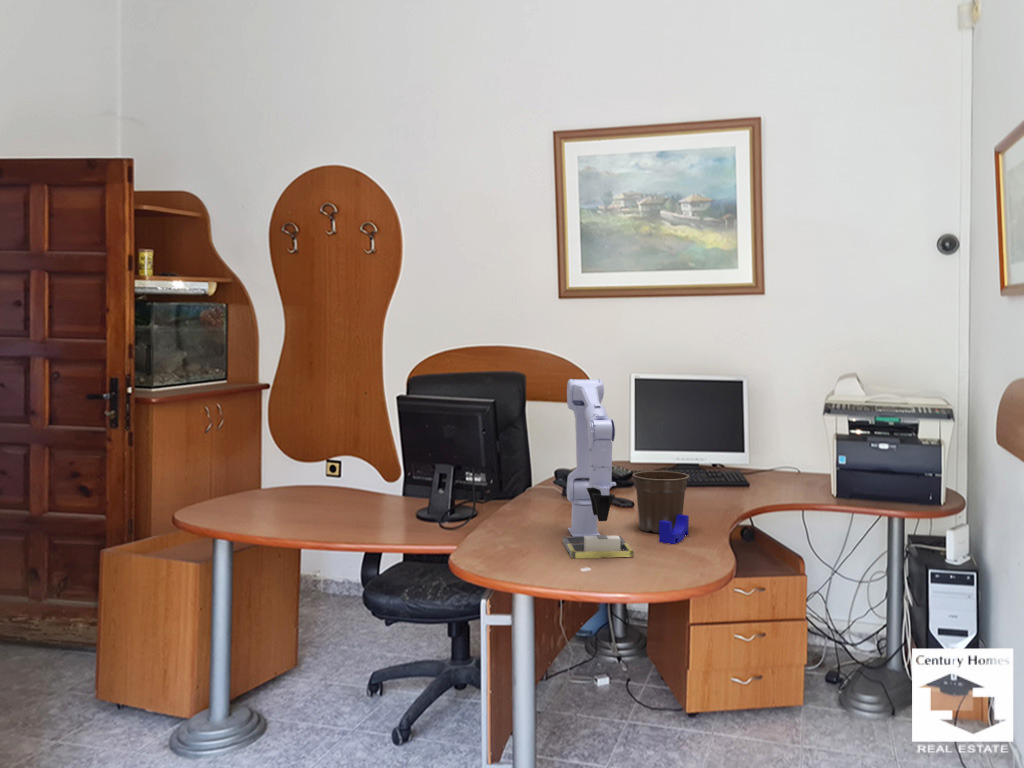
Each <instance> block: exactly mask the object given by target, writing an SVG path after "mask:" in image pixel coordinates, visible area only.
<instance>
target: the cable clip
mask: <svg viewBox="0 0 1024 768" xmlns="http://www.w3.org/2000/svg"><path fill="white" fill-rule="evenodd" d="M689 521H690V520H689V515H688V514H687V515H686V514H683V515H681V514H678V515H677V518H676V524H675V527H674V529H672V522H669V521H660V522H659V533H658V536H659V538H658V543H660V542H663V543H662V544H666V543H670V544H669V545H672V544H675V545H677V544H679V543H678V542H680V541H682V540H684V541H685V538H686V537H685V535H686V536H687V535H688V536H689V524H690V523H689ZM688 536H687V537H688ZM684 537H685V538H684ZM682 542H683V541H682ZM676 543H677V544H676ZM680 543H681V542H680Z"/></svg>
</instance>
